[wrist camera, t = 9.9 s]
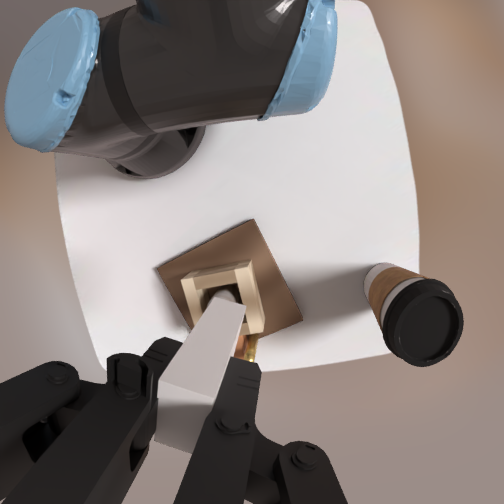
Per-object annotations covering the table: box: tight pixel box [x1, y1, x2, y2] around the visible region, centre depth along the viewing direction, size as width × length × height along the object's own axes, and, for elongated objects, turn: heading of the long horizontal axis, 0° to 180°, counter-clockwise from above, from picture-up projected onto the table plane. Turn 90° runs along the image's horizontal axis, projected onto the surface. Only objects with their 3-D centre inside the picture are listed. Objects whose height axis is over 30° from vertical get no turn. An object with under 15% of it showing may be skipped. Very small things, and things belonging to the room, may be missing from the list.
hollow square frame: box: [181, 260, 265, 360], centre depth 36 cm, size 13×8×4 cm, turn 13°
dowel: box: [244, 333, 259, 362], centre depth 35 cm, size 1×1×7 cm
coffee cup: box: [364, 263, 464, 367], centre depth 29 cm, size 8×8×15 cm
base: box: [157, 219, 303, 341], centre depth 36 cm, size 14×14×6 cm
